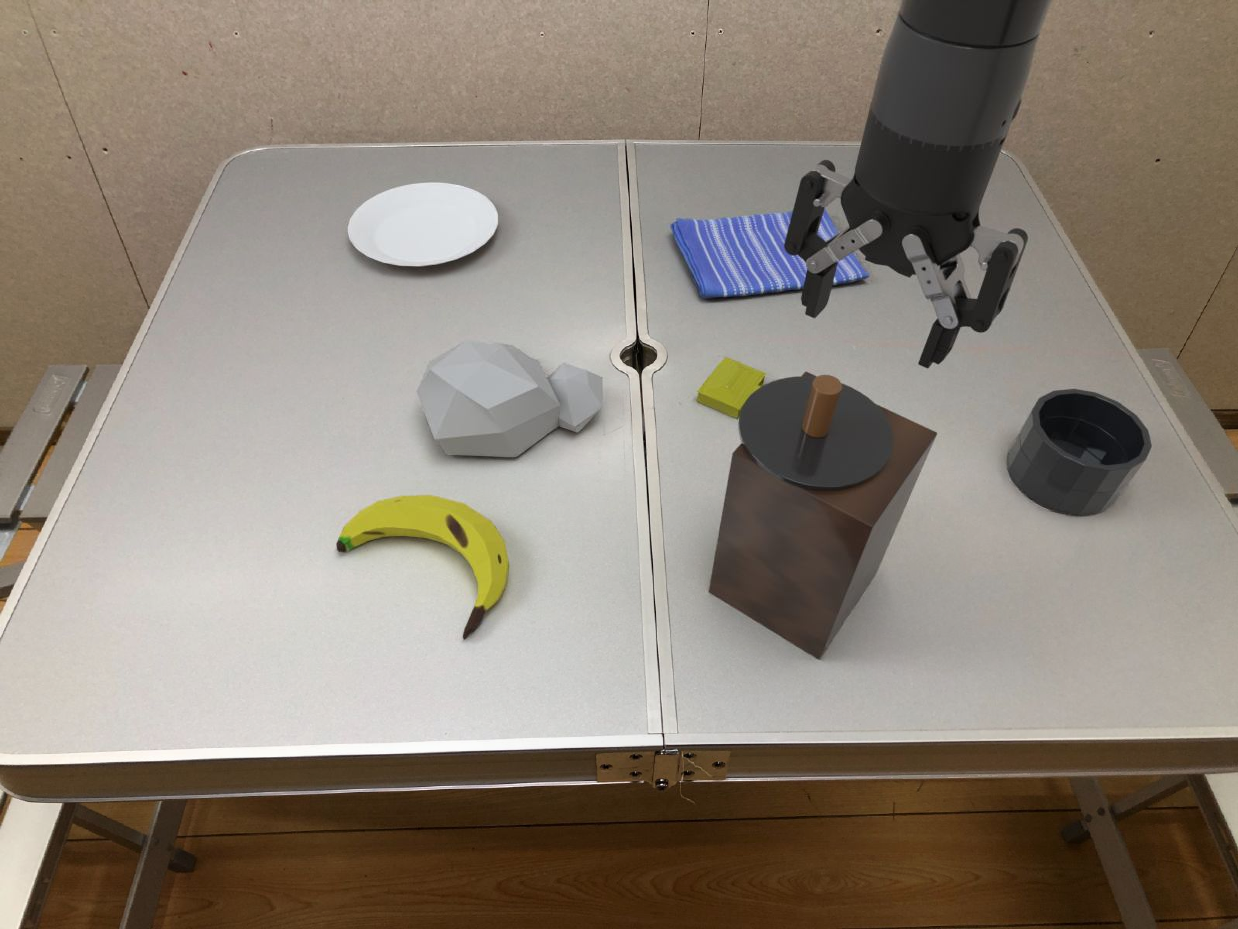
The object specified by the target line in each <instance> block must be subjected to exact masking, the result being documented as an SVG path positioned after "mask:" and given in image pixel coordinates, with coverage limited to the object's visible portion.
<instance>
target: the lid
mask: <svg viewBox="0 0 1238 929" xmlns="http://www.w3.org/2000/svg"><path fill="white" fill-rule="evenodd" d="M816 376H817V377H809V376H802V375H801V376H800V375H799V376H790V377H784V378H778V379H775V380H773V381H770V382H767V383H766V384H763V385H762V386H761V387H760V388H759V389H757V390H756V391H755V392H753V393H752V394H751V395H750V396H749V398H748V399H747V400H746V401H745V403H744V405H743V406H742V409H741V412H740V416H739V417H738V422H737V426H738V428H737V429H738V430H737V431H738V436H739V439H740V442H741V443H742V445H743V447H744V448H745V450H746V452H747V453H748V455H749V456H750V457H751V458H752V460H753V461H754V462H755V463H756V464H757V465H758V466H759V467H761V468H762V469H763V470H765V471H766V472H767V473H769V474H770V475H772V476H774V477H775V478H777V479H779V480H781V481H784V482H786V483H789V484H791V485H794V486H798V487H801V488H805V489H811V490H820V491H837V490H844V489H849V488H853V487H856V486H859V485H861V484H864V483H866V482H867V481H869V480H871V479H873V478H874V477H875V476H876V475H878V474H879V473H880V472H881V471H882V470H883V468H884V467H885V466H886V464H887V462H888V460H889V458H890V455H891V453H892V448H893V434H892V429H891V426H890V424H889V422H888V420H887V418H886V416H885V415H884V413H883V412H882V411H881V409H880V408H879V407H878V406H877V405H878V404H877V403H875V401H873V400H872V399H871V398H869V396H867V395H865V394H864V393H863V392H861V391H859V390H857V389H855V387H851V386H850V385H847V384H845V383H842V382H841V381H840V380H839V378H837V377H836V376H834V375H831V374H820V375H816ZM876 404H877V405H876Z"/></svg>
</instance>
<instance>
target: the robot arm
mask: <svg viewBox="0 0 1238 929" xmlns="http://www.w3.org/2000/svg"><path fill="white" fill-rule="evenodd" d="M1052 1H1053V0H900V3H899V9H898V10H897V14H896V18H895V21H894V24H893V27H892V29H891V32H890V35H889V37H888V39H887V42H886V45H885V48H884V51H883V54H882V57H881V60H880V64H879V69H878V73H877V77H876V80H875V85H874V89H873V93H872V98H871V101H870V105H869V109H868V114H867V118H866V121H865V126H864V129H863V134H862V138H861V142H860V145H859V149H858V155H857V159H856V162H855V167H854V174H853V176H852V178H848V177H846V176H844V175H842V174H839V173H837V172H836V166H835V164H834V163H833V162H832V161H831V160H829V159H823V160H821V161H820V162H818V164H817V165H815V166H814V167H813V168H812V169H811V170H809V171H808V172H807V173H806V174H805V175H803V176H802V177H801V178H800V182H799V186H798V190H797V192H796V197H795V201H794V205H793V209H792V211H793V212H792V211H791V212H792V216H791V220H790V224H789V228H788V232H787V235H786V239H785V243H784V248H785V251H786V252H787V253H788V254H790V255H792V256H795V255H798V256H799V257H801V258H802V259H803V260H804V261H805V263H806V267H807V272H806V277H805V282H804V287H803V288H802V291H801V296H800V301H801V306H804V307H805V311H804V315H805V316H807V317H810V318H813V319H816V318H817V317H818V316H819V315H820V314H821V313H822V312H823V311H824V310H825V308H826V307H827V305H828V303H829V300H830V297H831V292H832V287H833V285H832V284H833V280H834V276H835V272H836V268H837V264H838V262H839V261H840V260H842V259H843V258H845V257H847V256H848V255H850V254H851V253H853V254H854V253H855V252H856V251H858V250H859V252H860V253H861V254H862V255H863V256H864V261H867V262H869V263H872V264H874V265H879V266H884V267H888V268H890V269H891V270H893V271H894V272H895V273H897V274H899V275H901V276H904V277H906V278H911V277H912V276H916V278H917V280H918V283H919V286H920V288H921V290H922V293H923V296H924V298H925V299H926V300H930V302H931V305H932V307H933V309H934V312H935V314H936V319H935V321H934V322H933V323H932V325H931V328H930V330H929V333H928V336H927V338H926V342H925V344H924V347H923V350H922V352H921V355H920V357H919V359H918V363H917V365H918V366H921V367H923V368H925V369H930V367H931V366H932V365H933V364H936V365H940V364H942V362H943V361H944V360H945V359H946V358H947V356H948V355H949V354H950V353H951V351H952V350H953V347H954V345H955V342H956V340H957V338H958V335H959V332H960V330H961V328H964V327H965V328H971V330H973V332H976V333H980V334H981V333H985V332H987V331H988V330H989V329H990V328H991V326H992V325H993V322H994V320H996V318H997V316H998V315H1000V313H1001V312H1002V311H1003V309H1004V306H1005V304H1006V302H1007V298H1008V296H1009V292H1010V290H1011V287H1012V284H1013V282H1014V279H1015V276H1016V273H1017V271H1018V268H1019V265H1020V263H1021V260H1022V257H1023V254H1024V252H1025V249H1026V246H1027V243H1028V240H1029V236H1028V233H1027V232H1026V231H1025V230H1024V229H1022V228H1019V227H1015V228H1011V229H1010V230H1009V231H1008V232H1007V233H1006V232H1003V231H999V230H996V229H993V228H988V227H985V226H982V225H981V220H980V207H981V204H982V202H983V200H984V196H985V194H986V191H987V188H988V186H989V183H990V180H991V178H992V175H993V172H994V170H995V167H996V164H997V162H998V159H999V156H1000V154H1001V152H1002V149H1003V147H1004V143H1005V141H1006V138H1007V136H1008V133H1009V130H1010V128H1011V126H1012V123H1013V121H1014V119H1016V118H1017V115H1018V112H1019V110H1020V107H1021V104H1022V100H1023V99H1022V96H1023V93H1024V91H1025V87H1026V85H1027V82H1028V80H1029V76H1030V73H1031V72H1030V71H1031V67H1032V64H1033V58H1034V54H1035V51H1036V47H1037V42H1038V39H1039V36H1040V33H1041V30H1042V28H1043V25H1044V22H1045V20H1046V17H1047V14H1048V12H1049V9H1050V7H1051V4H1052ZM836 198H840V205H841V208H842V211H843V214H844V216H845V218H846V221H847V223H848V225H847V226H846V227H844V228H843V229H842V230H841V231H838V232H839V233H838V234H836V235H835V236H833V237H832V238H830V239H829V240H827V241H824V240H823V239H822V238H821V237H819V236H818V235H817V233H818V229H819V226H820V222H821V219H822V215H823V212H824V209H826V208H827V207H829V205H830V204H832V203H833V201H834V200H836ZM970 247H971V248H973V249H974V250H975V251H976V253H977V255H978V259H977V263H978V265H979V268H980V270H982V271H985V274H984V277H983V279H982V283H981V286H980V289H979V292H978V295H977V297H976V298H972V296H971V294H970V290H969V288H968V285H967V283H966V280H965V270H966V269H965V264H964V262H963V259H962V257H961V254H962V253H963V252H965V251H966V250H968V249H969V248H970Z"/></svg>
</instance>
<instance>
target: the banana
mask: <svg viewBox="0 0 1238 929" xmlns="http://www.w3.org/2000/svg"><path fill="white" fill-rule="evenodd" d="M385 537H387V538H388V537H409V538H410V537H412V538H424V539H428V540H431V541H434V542H438V543H441V544H444V545H447V546H449V547H450V548H452V549H453V550H455V551H456V552H458V553H459V554H461V555H462V556H463V557H464V558H465V560H466V561H467V562H468V564H469V565H470V567H471V568H472V571H473V575H474V576H475V579H476V582H477V598H476V600H475V604H474V606H473V608H472V610H471V612H470V615H469V617H468V619H467V622H466V625H465V627H464V631H463V633H462V639H463V641H465V640H466V639H467V638H469V636H470V635H472V633H474V632H475V631H476V629H477V628H478V627H479V626H480V625H481V623H482V621H483V619H484V616H485V614H486V612H487V611H488V610H489V609H490V608H492V607H493V606H495V604H496V603H497V602H498V601H499V600H500V598H501V596H502V594H503V592H504V590H505V589H506V586H507V581H508V576H509V570H510V563H509V556H508V551H507V546H506V541H505V539H504V538H503V536H502V535H501V533H500V532H499V530H498V528H496V526H495V525H494V523H493V521H492V520H490V519H488V518H487V517H485V516H484V515H482V514H481V513H479V512H478V511H476V510H475V509H474V508H472V507H470V506H469V505H467V504H466V503H463V502H461V501H460V502H459V501H457V500H456V501H455V500H452V499H448V498H444V497H440V496H437V495H432V494H417V495H413V494H412V495H399V496H394V497H390V498H386V499H380V500H377V501H376V502H374V503H372V504H370V505H368V506H367V507H364V508H363V509H361V510H360V511H358V512H357V513H356V514H355V515H354V516H353V517H352V518H351V519H350V520H349V521H348V522H347V523H346V524H345V525H344V526H343V528H342V529H341V532H340V534H339V536H338V538H337V540H336V543H335V544H336V551H338V552H339V553H347V552H348V551H349V550H351V549H354V548H356V547H358V546H360V545H362V544H364V543H367V542H369V541H373V540H376V539H380V538H385Z"/></svg>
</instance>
